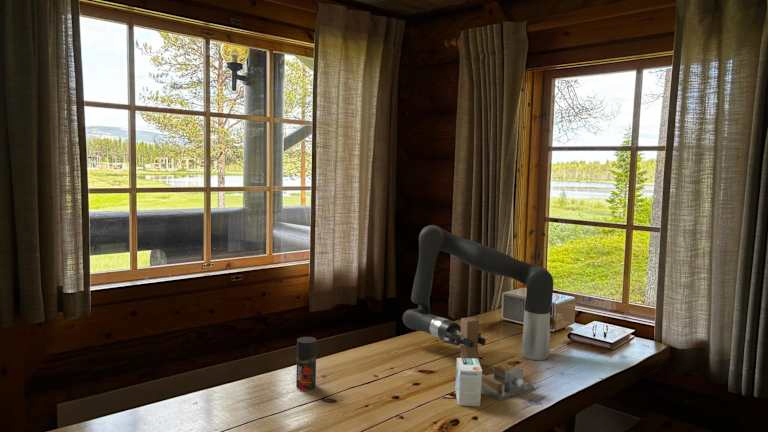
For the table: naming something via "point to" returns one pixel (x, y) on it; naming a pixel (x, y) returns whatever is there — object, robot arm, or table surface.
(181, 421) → the table surface
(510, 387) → the shaft bed
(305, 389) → the deodorant
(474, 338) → the wooden block
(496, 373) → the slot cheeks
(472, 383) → the light bulb box
